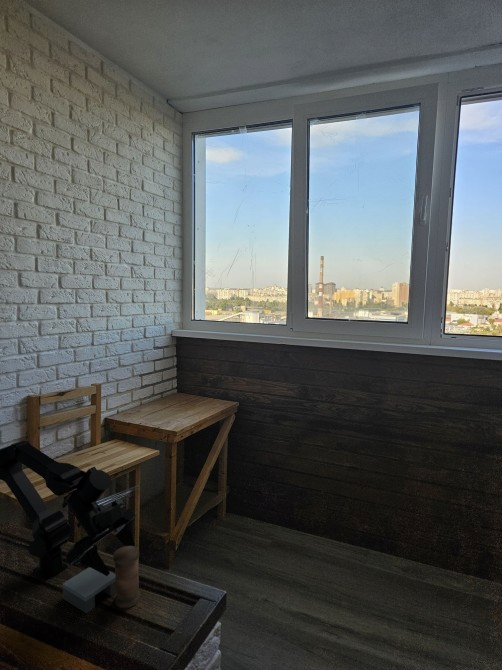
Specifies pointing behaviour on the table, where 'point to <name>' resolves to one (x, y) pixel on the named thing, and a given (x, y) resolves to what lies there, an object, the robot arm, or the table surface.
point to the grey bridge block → (88, 588)
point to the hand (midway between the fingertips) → (122, 563)
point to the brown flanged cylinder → (126, 576)
